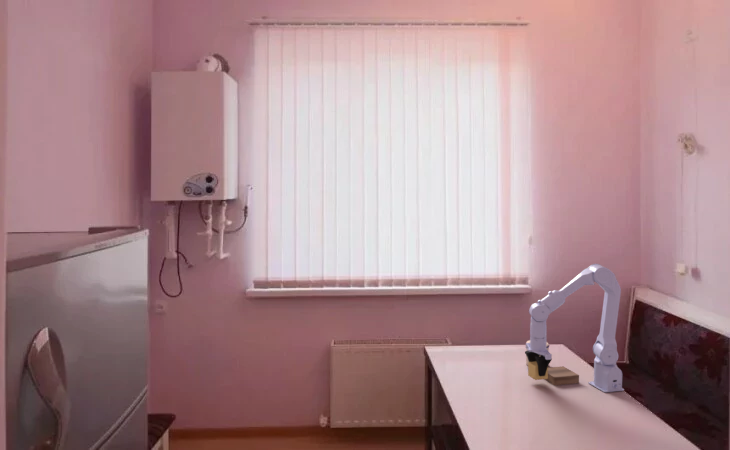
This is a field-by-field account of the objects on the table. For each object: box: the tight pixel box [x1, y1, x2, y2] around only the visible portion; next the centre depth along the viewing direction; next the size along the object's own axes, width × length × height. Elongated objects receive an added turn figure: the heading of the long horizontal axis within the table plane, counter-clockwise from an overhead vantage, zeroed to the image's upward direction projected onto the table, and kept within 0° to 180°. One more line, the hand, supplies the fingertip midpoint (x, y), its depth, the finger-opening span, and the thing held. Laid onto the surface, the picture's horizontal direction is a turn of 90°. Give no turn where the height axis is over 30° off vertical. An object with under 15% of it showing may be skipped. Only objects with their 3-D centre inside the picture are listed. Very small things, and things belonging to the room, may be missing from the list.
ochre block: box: [527, 361, 549, 381], centre depth 196 cm, size 5×5×5 cm
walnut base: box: [544, 366, 580, 386], centre depth 200 cm, size 10×10×3 cm
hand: (537, 373), depth 196 cm, fingers closed on ochre block, 5 cm apart
